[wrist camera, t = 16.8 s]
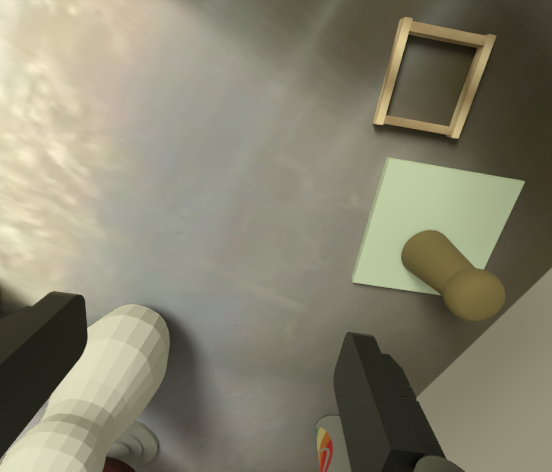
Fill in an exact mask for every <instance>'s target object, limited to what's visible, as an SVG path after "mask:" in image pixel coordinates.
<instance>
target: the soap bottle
mask: <svg viewBox="0 0 552 472" xmlns="http://www.w3.org/2000/svg"><path fill="white" fill-rule="evenodd" d="M87 333H88V340H87V345H86V348H85V350H84V353H83V354H82V356H81V358H80V359H79V360H78V362H77V363H76V364H75V365H74V367H73V368H72V369H71V370H70V372H69V373H68V374H67V375H66V377H65V378H64V379H63V380H62V382H61V383H60V384H59V386H58V387H57V388H56V389H55V391H54V392H53V393H52V394H51V397H50V400H49V403H48V406H47V409H46V411H45V414H44V416H43V418H42V419H41V421H40V422H39V424H38V425H36V426H35V427H33V428H32V429H31V430H29V431H28V432H27V433H26V434H25V435H24V436H23V437H22V438H21V439H20V440H19V441H18V442H17V443H16V444H15V445H14V446H13V447H12V448H11V449H10V450H9V451H8V453H7V455H6V457H5V458H4V460H3V462H2V464H1V466H0V472H102V471H103V468H104V464H105V458H106V454H107V452H108V450H109V448H110V447H111V445H112V444H113V443H114V441H115V440H116V439H117V438H118V437H119V436H120V435H121V434H122V433H123V432H124V431H125V430H126V429H127V428H128V427H129V426H130V425H131V424H132V423H133V422H134V421H135V420H136V419H137V418H138V417H139V416H140V415H141V413H142V412H143V410H144V409H145V408H146V406H147V405H148V403H149V402H150V400H151V399H152V397H153V396H154V394H155V393H156V391H157V389H158V388H159V386H160V385H161V383H162V380H163V378H164V375H165V373H166V367H167V361H168V354H169V347H170V337H169V331H168V328H167V325H166V322H165V321H164V319H163V318H162V317H161V316H160V314H158V313H156V312H155V311H153V310H151V309H150V308H147V307H144V306H140V305H137V304H133V305H124V306H122V307H119V308H117V309H115V310H113V311H112V312H110V313H109V314H107V315H106V316H104V317H103V318H101V319H100V320H98V321H97V322H96V323H94V324H93V325H91V326H90V327H88V328H87Z"/></svg>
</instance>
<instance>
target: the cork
mask: <svg viewBox="0 0 552 472" xmlns="http://www.w3.org/2000/svg"><path fill="white" fill-rule="evenodd" d="M401 260H402V263H403V265H404V266H405V268H406V269H407V270H408V271H410V272H411V273H413V274H414V275H415V276H417V277H418V278H419V279H421V280H422V281H423V282H425V283H426V284H427V285H429V286H430V287H431V288H433V289H434V290H435V291H437V292H438V293H439V294H441V295H442V296H443V299H444V302H445V304H446V306H447V308H448V309H449V310H450V311H451V312H452V313H453V314H454V315H455V316H457V317H459V318H461V319H463V320H466V321H473V322H478V321H483V320H486V319H488V318H490V317H492V316H493V315H495V314H496V313H497V312H498V311H499V310H500V309H501V308H502V306H503V304H504V302H505V298H506V295H505V290H504V286H503V285H502V283H501V282H500V281H499V279H498V278H497V277H496V276H494V275H493V274H491V273H490V272H488V271H486V270H483V269H478V268H475V267H474V266H473V265H472V264H471V263H470V262H469V261H468V259H467V258H466V257H465V256H464V255H463V254H462V253H461V252H460V251H459V250H458V249H457V248H456V247H455V246H454V245H453V244H452V243H451V241H450V240H449V239H448V238H447V237H446V236H445V235H444V234H442V233H441V232H439V231H435V230H426V231H422V232H419V233H417V234H415V235H414V236H412V237H411V238H410V239H409V240H408V241H407V242H406V244H405V245H404V247H403V250H402V253H401Z"/></svg>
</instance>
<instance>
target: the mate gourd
mask: <svg viewBox="0 0 552 472" xmlns="http://www.w3.org/2000/svg"><path fill="white" fill-rule="evenodd" d="M157 450H158V440H157V438H156V436H155V434H154V433H153V432H152V431H151V429H149V428H148V427H147V426H145V425H144V424H142V423H140V422H138V421H136V420H135V421H134V422H133V423H132V424H131V425H130V426H129V427H128V428H127V429H126V430H125V431H124V432H123V433H122V434H121V435H120V436H119V437H118V438H117V439H116V440H115V441H114V443H113V444H112V445H111V447H110V448H109V450H108V452H107V454H106V458H105V464H104V468H103V471H102V472H135V471H134V469H133V468H138V467H141V466H144V465H146V464H148V463H149V462H151V461H152V460H153V459H154V457H155V456H156V453H157Z"/></svg>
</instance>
